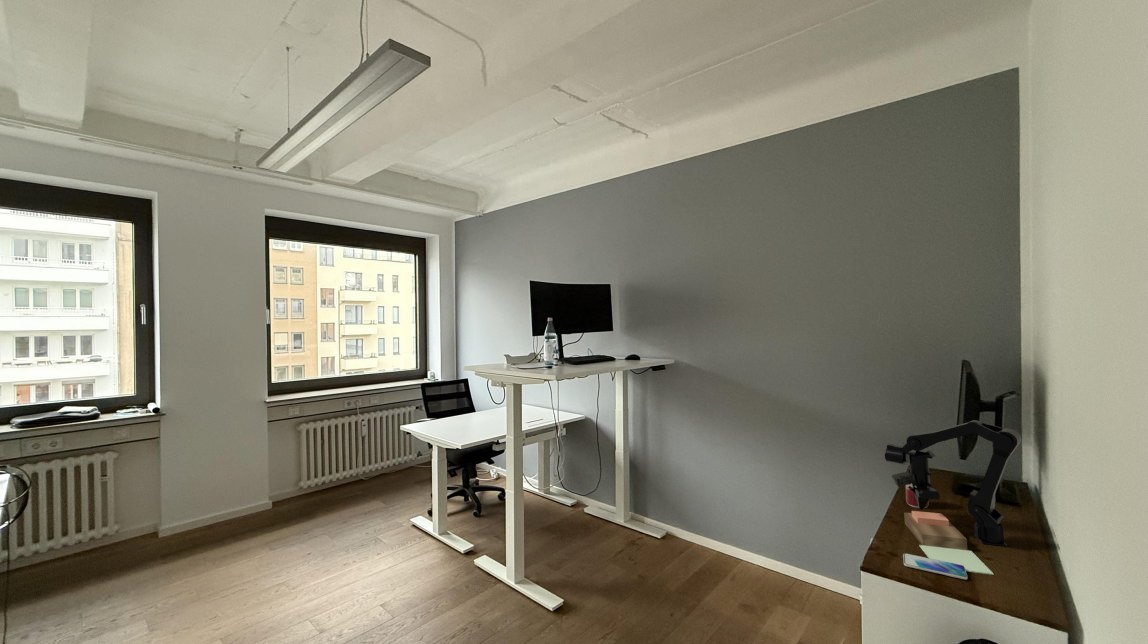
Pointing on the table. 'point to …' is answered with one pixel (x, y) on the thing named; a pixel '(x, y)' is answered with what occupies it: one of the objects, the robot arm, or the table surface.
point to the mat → (957, 558)
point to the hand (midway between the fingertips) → (921, 509)
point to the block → (930, 518)
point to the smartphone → (935, 566)
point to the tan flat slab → (936, 534)
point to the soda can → (912, 498)
